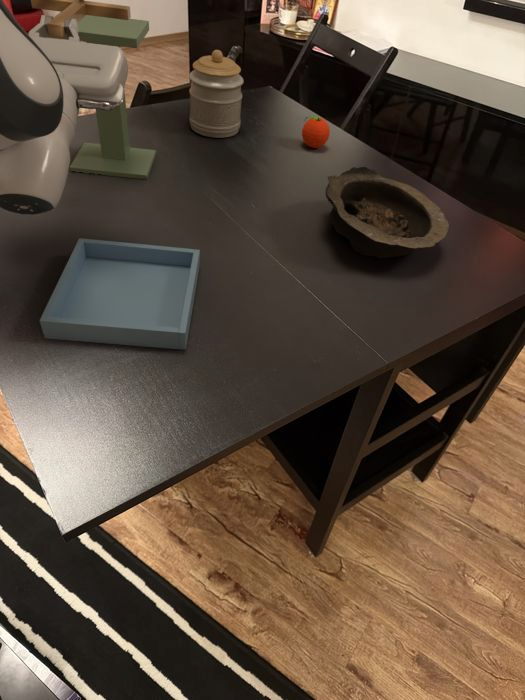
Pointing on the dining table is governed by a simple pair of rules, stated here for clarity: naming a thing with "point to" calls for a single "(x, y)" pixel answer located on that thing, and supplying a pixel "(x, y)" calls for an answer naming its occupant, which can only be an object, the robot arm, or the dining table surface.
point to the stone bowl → (382, 214)
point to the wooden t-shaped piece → (78, 12)
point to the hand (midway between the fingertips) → (60, 20)
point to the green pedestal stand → (113, 125)
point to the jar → (215, 96)
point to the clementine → (315, 132)
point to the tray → (124, 295)
